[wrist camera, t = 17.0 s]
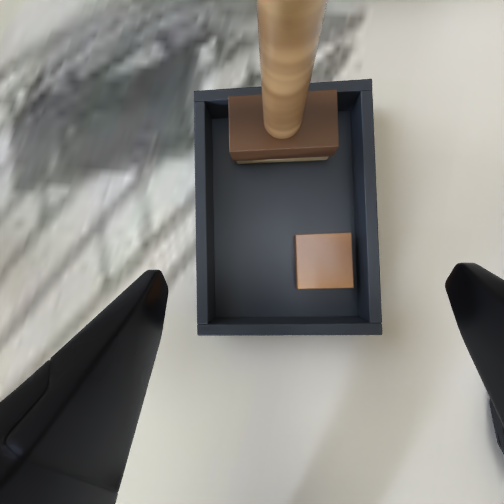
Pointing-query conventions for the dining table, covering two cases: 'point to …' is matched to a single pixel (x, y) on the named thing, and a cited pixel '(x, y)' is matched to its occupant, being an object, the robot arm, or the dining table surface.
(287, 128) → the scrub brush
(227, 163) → the baking tray
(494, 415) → the hairbrush
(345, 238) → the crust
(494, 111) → the dining table surface
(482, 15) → the dining table surface
